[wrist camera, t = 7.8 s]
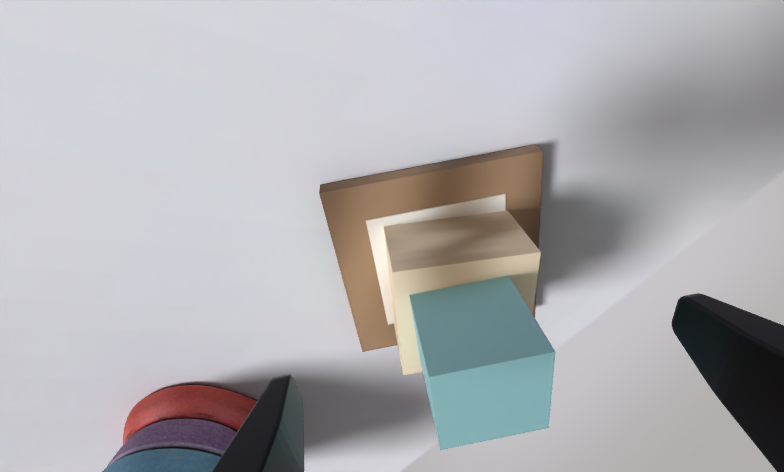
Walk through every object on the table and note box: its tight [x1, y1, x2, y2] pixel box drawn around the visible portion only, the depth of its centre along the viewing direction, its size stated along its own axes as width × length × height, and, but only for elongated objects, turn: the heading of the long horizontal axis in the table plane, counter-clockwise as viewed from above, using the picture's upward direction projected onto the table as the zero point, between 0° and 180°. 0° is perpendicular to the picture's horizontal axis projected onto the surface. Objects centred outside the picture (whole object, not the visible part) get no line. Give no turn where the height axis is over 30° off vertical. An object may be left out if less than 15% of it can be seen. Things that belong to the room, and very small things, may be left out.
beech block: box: [383, 210, 541, 375], centre depth 21 cm, size 6×6×4 cm
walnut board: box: [319, 145, 543, 352], centre depth 22 cm, size 11×11×1 cm
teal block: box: [409, 276, 555, 450], centre depth 17 cm, size 4×4×4 cm
